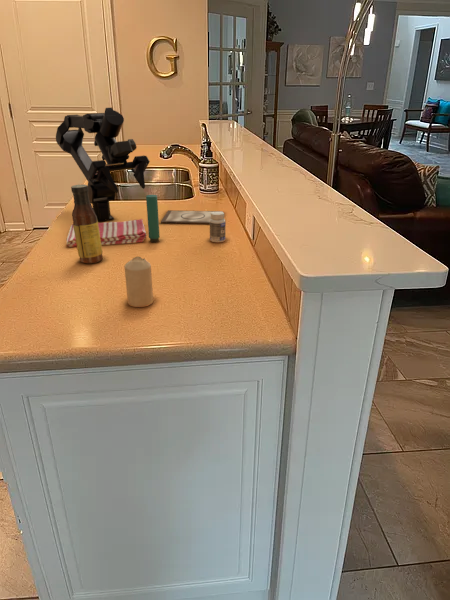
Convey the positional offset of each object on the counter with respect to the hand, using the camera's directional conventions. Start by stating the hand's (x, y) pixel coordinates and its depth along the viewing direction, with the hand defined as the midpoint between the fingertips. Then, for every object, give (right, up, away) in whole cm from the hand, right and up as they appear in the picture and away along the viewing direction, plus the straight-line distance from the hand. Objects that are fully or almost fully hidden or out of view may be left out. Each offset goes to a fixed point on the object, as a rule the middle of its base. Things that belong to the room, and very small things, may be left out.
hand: (131, 190), depth 143 cm
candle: (+10, -34, -39) cm, 53 cm away
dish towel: (-8, -14, +3) cm, 16 cm away
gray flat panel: (+17, -5, +22) cm, 28 cm away
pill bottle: (+26, -15, 0) cm, 30 cm away
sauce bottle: (-8, -23, -16) cm, 29 cm away
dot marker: (+7, -16, -1) cm, 17 cm away
